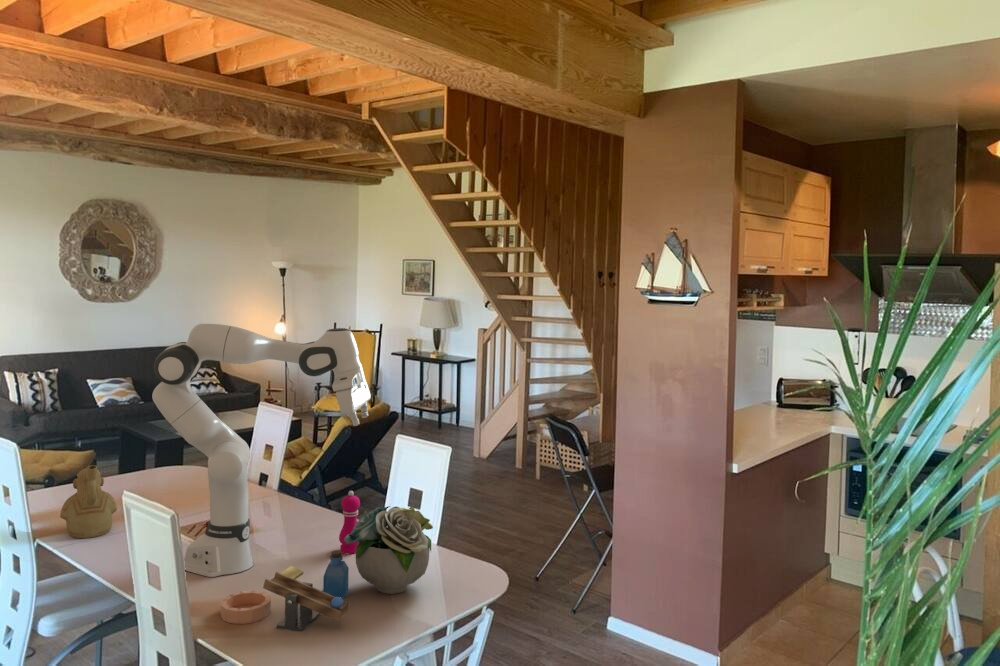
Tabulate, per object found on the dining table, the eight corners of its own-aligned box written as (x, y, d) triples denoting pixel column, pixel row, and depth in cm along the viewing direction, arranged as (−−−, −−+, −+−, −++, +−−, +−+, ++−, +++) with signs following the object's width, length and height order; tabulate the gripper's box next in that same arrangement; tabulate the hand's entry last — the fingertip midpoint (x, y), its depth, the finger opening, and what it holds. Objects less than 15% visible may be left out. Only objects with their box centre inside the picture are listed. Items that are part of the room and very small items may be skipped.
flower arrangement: (398, 615, 198) (400, 525, 197) (330, 592, 212) (331, 508, 210) (452, 584, 219) (454, 503, 218) (387, 565, 233) (389, 489, 231)
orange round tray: (210, 620, 192) (211, 606, 192) (239, 600, 204) (239, 588, 204) (253, 626, 189) (253, 613, 189) (279, 606, 201) (279, 594, 201)
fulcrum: (276, 627, 189) (276, 595, 189) (296, 611, 199) (296, 580, 198) (301, 631, 187) (301, 598, 187) (320, 615, 197) (320, 583, 196)
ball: (327, 609, 189) (329, 598, 189) (333, 604, 192) (335, 593, 192) (338, 613, 188) (341, 602, 188) (344, 608, 191) (346, 597, 191)
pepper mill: (356, 555, 241) (357, 494, 239) (335, 553, 242) (336, 493, 241) (364, 548, 248) (365, 489, 246) (344, 545, 249) (345, 487, 248)
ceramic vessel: (113, 521, 267) (113, 452, 266) (120, 537, 251) (120, 464, 249) (58, 528, 258) (58, 457, 256) (62, 546, 242) (61, 470, 240)
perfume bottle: (326, 588, 214) (327, 548, 213) (348, 588, 215) (348, 548, 214) (323, 598, 208) (323, 556, 207) (345, 597, 208) (346, 556, 208)
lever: (262, 588, 192) (265, 577, 192) (290, 568, 205) (292, 559, 205) (337, 620, 187) (340, 610, 187) (360, 599, 200) (363, 589, 200)
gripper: (350, 373, 241) (361, 414, 242) (330, 387, 220) (341, 431, 222) (369, 370, 240) (379, 411, 241) (350, 383, 220) (361, 427, 221)
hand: (361, 421), depth 232 cm, fingers open, 8 cm apart
